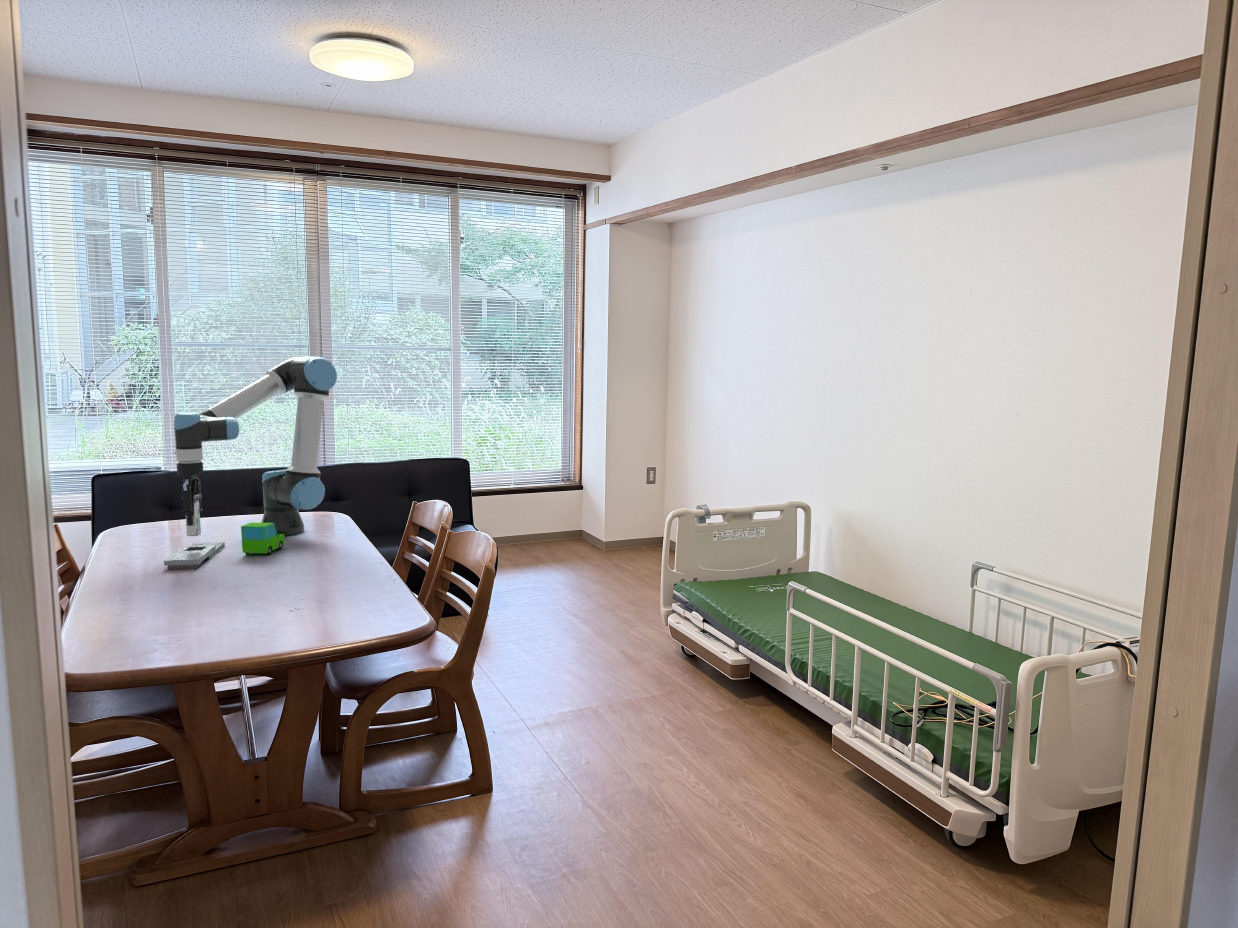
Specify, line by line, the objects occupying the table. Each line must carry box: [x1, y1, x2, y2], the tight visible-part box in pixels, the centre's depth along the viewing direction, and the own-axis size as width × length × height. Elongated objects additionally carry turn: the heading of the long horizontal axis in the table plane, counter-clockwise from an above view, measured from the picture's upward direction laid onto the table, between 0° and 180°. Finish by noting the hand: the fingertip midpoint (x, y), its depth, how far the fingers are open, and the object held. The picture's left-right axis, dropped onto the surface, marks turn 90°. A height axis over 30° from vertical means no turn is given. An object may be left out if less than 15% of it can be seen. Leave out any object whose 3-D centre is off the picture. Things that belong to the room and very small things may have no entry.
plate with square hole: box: [163, 541, 226, 571], centre depth 277 cm, size 10×30×3 cm, turn 11°
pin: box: [188, 493, 202, 537], centre depth 275 cm, size 6×6×13 cm
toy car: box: [240, 522, 286, 556], centre depth 285 cm, size 10×13×10 cm
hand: (193, 533), depth 276 cm, fingers closed on pin, 4 cm apart
